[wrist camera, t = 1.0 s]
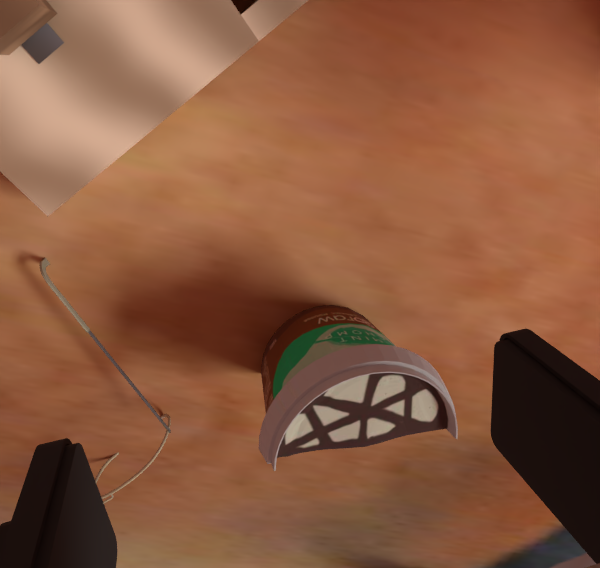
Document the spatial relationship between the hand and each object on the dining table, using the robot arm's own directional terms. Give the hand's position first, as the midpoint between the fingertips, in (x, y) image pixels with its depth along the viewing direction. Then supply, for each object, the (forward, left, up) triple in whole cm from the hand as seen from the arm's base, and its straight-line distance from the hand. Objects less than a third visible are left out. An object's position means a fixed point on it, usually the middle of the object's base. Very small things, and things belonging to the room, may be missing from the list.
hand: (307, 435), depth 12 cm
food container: (0, +13, -24) cm, 27 cm away
